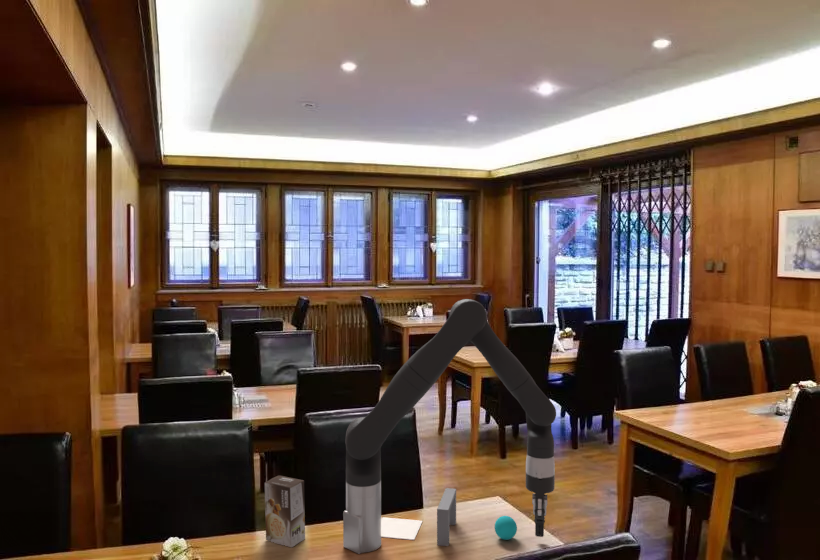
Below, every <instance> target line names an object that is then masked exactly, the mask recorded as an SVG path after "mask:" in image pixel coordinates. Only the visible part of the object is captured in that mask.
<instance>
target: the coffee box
mask: <svg viewBox="0 0 820 560" xmlns="http://www.w3.org/2000/svg"><path fill="white" fill-rule="evenodd" d="M264 507H265V508H264V512H265V516H264V517H265V519H264V520H265V540H268V541H267V542H269V541H271V542H270V543H273V542H274V544H278V545H282V546H284V545H285V546H284V547H289V548H293V547H294V546H296V545H298V544H299V543H301V542H302V541H304V540H305V539H306V521H305V520H306V519H305V517H306V515H305V513H306V512H305V480H303V479H298V478H294V477H288V476H284V475H277V476H275V477H272V478H270V479H269V480H267V481H265V482H264Z"/></svg>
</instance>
